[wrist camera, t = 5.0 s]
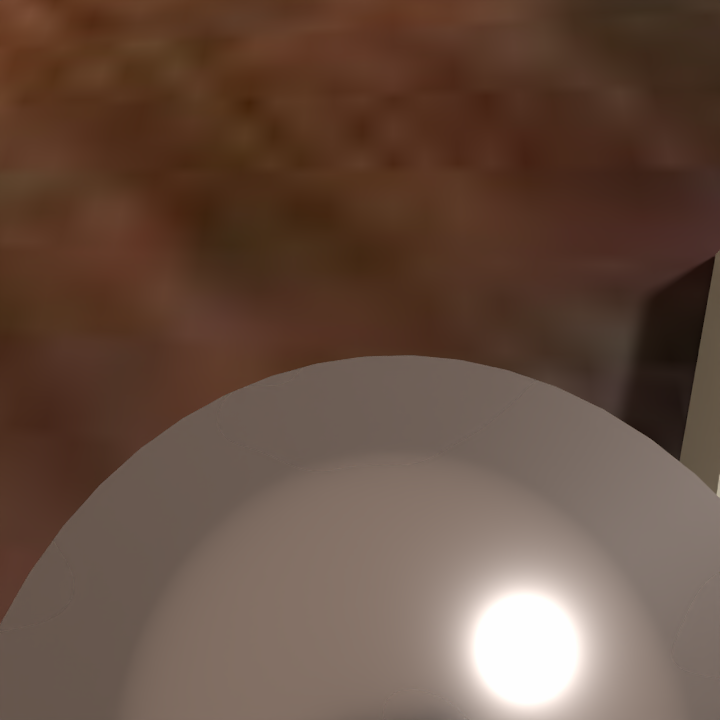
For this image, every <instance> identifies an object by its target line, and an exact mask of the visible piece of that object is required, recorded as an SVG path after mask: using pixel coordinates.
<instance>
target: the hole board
mask: <svg viewBox="0 0 720 720" xmlns="http://www.w3.org/2000/svg"><path fill="white" fill-rule="evenodd" d="M679 462H681V463H682V464H683V465H684V466H686V467H687V468H688V469H689V470H691V471H692V472H693V473H695V474H696V475H697V476H698V477H699V478H700V479H701V480H702V481H703V482H704V483H705V484H706V485H707V486H708V487H709V488H710V489H711V490H712V491H713V492H714V493H715V494H716V495H717V496H718V497H719V498H720V251H719V252H718V253H717V254H716V256H715V262H714V268H713V273H712V279H711V285H710V290H709V296H708V302H707V308H706V313H705V319H704V325H703V330H702V336H701V342H700V347H699V353H698V359H697V364H696V370H695V376H694V382H693V387H692V393H691V399H690V404H689V410H688V416H687V421H686V427H685V433H684V439H683V444H682V450H681V456H680V461H679Z"/></svg>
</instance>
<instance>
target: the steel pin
mask: <svg viewBox="0 0 720 720" xmlns="http://www.w3.org/2000/svg"><path fill="white" fill-rule="evenodd" d="M0 720H720V498H719V497H718V496H717V495H716V494H715V493H714V492H713V491H712V490H711V489H710V488H709V487H708V486H707V485H706V484H705V483H704V482H703V481H702V480H701V479H700V478H699V477H698V476H697V475H696V474H695V473H693V472H692V471H691V470H689V469H688V468H687V467H686V466H684V465H683V464H682V463H681V462H679V461H678V460H677V459H675V458H674V457H673V456H672V455H670V454H669V453H668V452H667V451H665V450H664V449H663V448H661V447H660V446H659V445H658V444H656V443H655V442H654V441H653V440H651V439H650V438H648V437H647V436H645V435H644V434H642V433H640V432H639V431H637V430H636V429H634V428H632V427H631V426H629V425H628V424H626V423H624V422H623V421H621V420H620V419H618V418H616V417H615V416H613V415H612V414H610V413H608V412H607V411H605V410H604V409H602V408H599V407H597V406H595V405H593V404H591V403H589V402H587V401H585V400H583V399H581V398H578V397H576V396H574V395H572V394H570V393H568V392H566V391H564V390H562V389H560V388H558V387H555V386H552V385H549V384H546V383H543V382H541V381H538V380H535V379H532V378H529V377H526V376H523V375H520V374H517V373H514V372H511V371H509V370H504V369H499V368H495V367H490V366H486V365H481V364H476V363H472V362H467V361H463V360H455V359H445V358H434V357H423V356H413V355H410V356H371V357H359V358H352V359H345V360H339V361H332V362H325V363H318V364H314V365H311V366H307V367H303V368H300V369H296V370H292V371H289V372H285V373H281V374H278V375H274V376H271V377H268V378H266V379H263V380H261V381H258V382H256V383H253V384H251V385H249V386H246V387H244V388H241V389H239V390H236V391H234V392H231V393H229V394H226V395H225V396H223V397H221V398H219V399H217V400H215V401H214V402H212V403H210V404H208V405H206V406H205V407H203V408H201V409H199V410H197V411H196V412H194V413H192V414H190V415H188V416H186V417H185V418H183V419H181V420H180V421H179V422H177V423H176V424H174V425H173V426H172V427H170V428H169V429H167V430H166V431H165V432H163V433H162V434H160V435H159V436H157V437H156V438H155V439H153V440H152V441H150V442H149V443H148V444H146V445H145V446H143V447H142V448H141V449H140V450H138V451H137V452H136V453H135V454H134V455H133V456H132V457H131V458H129V459H128V460H127V461H126V462H125V463H124V464H123V465H122V466H121V467H119V468H118V469H117V470H116V471H115V472H114V473H113V474H112V475H111V476H109V477H108V478H107V479H106V480H105V481H104V482H103V483H102V484H101V485H100V486H99V487H98V488H97V489H96V490H95V491H94V492H93V493H92V495H91V496H90V497H89V498H88V499H87V500H86V501H85V502H84V504H83V505H82V506H81V507H80V508H79V509H78V510H77V511H76V512H75V514H74V515H73V516H72V517H71V518H70V519H69V520H68V521H67V523H66V524H65V525H64V526H63V527H62V529H61V530H60V531H59V533H58V534H57V536H56V537H55V538H54V540H53V541H52V543H51V544H50V545H49V547H48V548H47V550H46V551H45V552H44V554H43V555H42V556H41V558H40V559H39V561H38V562H37V563H36V565H35V566H34V568H33V569H32V570H31V572H30V573H29V575H28V577H27V578H26V580H25V582H24V584H23V585H22V587H21V589H20V591H19V592H18V594H17V596H16V598H15V599H14V601H13V603H12V605H11V606H10V608H9V610H8V612H7V613H6V615H5V617H4V619H3V620H2V622H1V624H0Z"/></svg>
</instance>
